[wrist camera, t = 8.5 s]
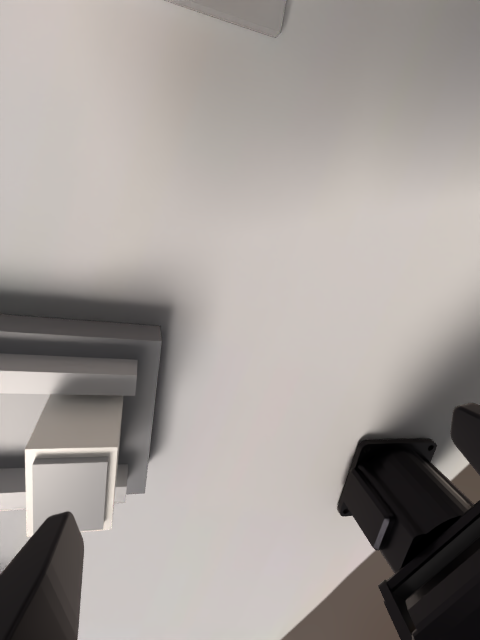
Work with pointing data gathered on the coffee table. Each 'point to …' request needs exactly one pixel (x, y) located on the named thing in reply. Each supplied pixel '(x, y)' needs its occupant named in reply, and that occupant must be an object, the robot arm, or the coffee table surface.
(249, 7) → the pad
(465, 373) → the coffee table surface
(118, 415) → the toggle
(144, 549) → the coffee table surface
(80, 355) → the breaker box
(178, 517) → the coffee table surface
